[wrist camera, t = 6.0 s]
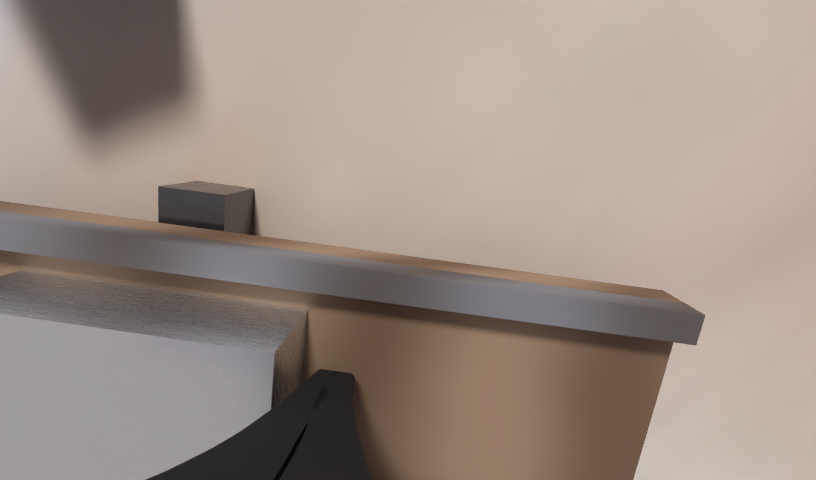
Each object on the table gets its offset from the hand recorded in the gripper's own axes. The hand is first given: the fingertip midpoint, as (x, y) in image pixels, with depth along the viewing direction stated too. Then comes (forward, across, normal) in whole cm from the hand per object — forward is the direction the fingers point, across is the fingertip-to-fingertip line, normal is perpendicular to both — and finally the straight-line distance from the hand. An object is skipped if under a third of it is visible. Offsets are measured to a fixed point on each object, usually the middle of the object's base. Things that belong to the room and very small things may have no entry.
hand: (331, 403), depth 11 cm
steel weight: (+1, +5, 0) cm, 5 cm away
